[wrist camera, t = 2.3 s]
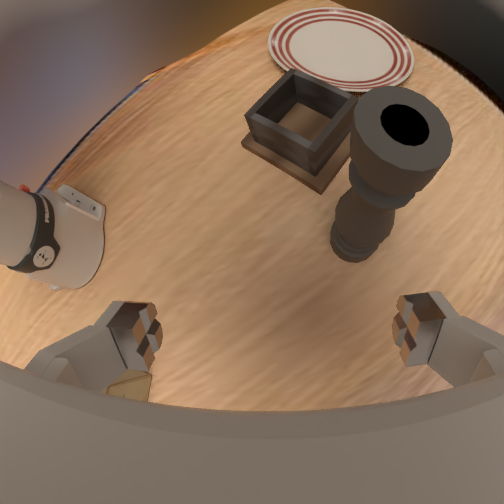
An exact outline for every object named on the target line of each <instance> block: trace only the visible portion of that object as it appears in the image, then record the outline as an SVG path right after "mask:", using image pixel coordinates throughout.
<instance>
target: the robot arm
mask: <svg viewBox="0 0 504 504" xmlns="http://www.w3.org/2000/svg"><path fill="white" fill-rule="evenodd" d="M95 208H96V209H95ZM104 217H105V207H104V206H103V205H102V204H100V203H98V202H96V201H95V200H93V199H91V198H89V197H88V196H86V195H84V194H83V193H81V192H79V191H77V190H76V189H74V188H72V187H71V186H69V185H66V184H64V185H62V186H61V187H60V188H58V189H57V190H56V191H54V190H52V189H50V188H45V189H43V190H42V191H41V192H40V193H39V194H38V193H31V192H30V189H29V188H28V187H27V186H25V185H21V186H20V189H17V188H15V187H13V186H11V185H9V184H7V183H4V182H3V181H1V180H0V264H2V265H6V266H7V267H8V268H9V269H12V270H14V271H16V272H21V273H22V272H23V273H26V275H27V277H28V278H30V279H33V280H37V281H40V282H43V283H46V284H49V286H50V288H51V289H52V290H55V291H58V290H60V289H62V288H69V289H77V288H80V287H82V286H84V285H85V284H86V283H88V282H89V281H90V279H91V278H92V277H93V275H94V274H95V272H96V270H97V268H98V266H99V264H100V261H101V258H102V254H103V248H104V233H103V221H104ZM396 307H397V309H398V311H399V312H398V314H397V315H396V316H395V317H394V319H393V324H392V334H393V339H394V342H395V344H396V345H397V346H399V347H401V350H400V355H401V358H402V360H403V362H404V365H405V367H409V366H416V365H423V364H428V366H430V367H431V368H432V369H433V370H434V371H436V372H437V373H438V374H439V375H441V376H442V377H443V378H444V379H445V380H447V381H448V382H449V383H450V384H451V385H453V386H454V388H451V389H447V390H443V391H439V392H435V393H431V394H426V395H422V396H417V397H412V398H407V399H402V400H396V401H390V402H384V403H378V404H371V405H363V406H355V407H345V408H335V409H322V410H305V411H231V410H214V409H201V408H191V407H181V406H173V405H166V404H158V403H152V402H146V401H140V400H134V399H129V398H123V397H118V396H114V395H109V394H104V393H100V392H101V391H102V390H103V389H104V388H106V387H107V386H108V385H109V384H111V383H112V382H113V381H114V380H116V379H117V378H118V377H119V376H121V375H122V374H123V373H124V372H126V371H127V369H129V370H139V371H149V370H150V368H151V366H152V363H153V361H154V359H155V357H154V354H153V353H155V352H156V351H158V350H159V349H160V347H161V344H162V339H163V332H162V327H161V324H160V323H159V322H158V321H157V320H156V319H155V317H156V315H157V310H156V307H155V305H154V304H153V303H152V302H134V301H113V302H112V303H111V304H110V306H109V307H108V308H107V309H106V310H105V312H104V313H103V314H102V315H101V317H100V318H99V319H98V320H97V321H96V323H95V324H94V325H93V326H91V325H89V326H87V327H85V328H83V329H81V330H79V331H77V332H75V333H74V334H72V335H70V336H68V337H66V338H64V339H62V340H60V341H58V342H56V343H54V344H52V345H50V346H48V347H46V348H44V349H42V350H40V351H39V352H38V353H37V354H36V355H35V356H34V358H33V359H32V360H31V361H30V363H29V364H28V365H27V366H26V367H25V369H24V370H23V369H20V368H18V367H15V366H12V365H10V364H7V363H5V362H2V361H0V504H504V336H503V335H501V334H499V333H497V332H495V331H493V330H491V329H489V328H487V327H485V326H483V325H481V324H479V323H477V322H475V321H473V320H471V319H469V318H467V317H465V316H459V315H458V313H457V312H456V311H455V309H454V308H453V307H452V306H451V304H450V303H449V302H448V301H447V299H446V298H445V297H444V296H443V294H442V293H441V292H439V291H433V292H426V293H419V294H411V295H402V296H399V298H398V300H397V305H396Z"/></svg>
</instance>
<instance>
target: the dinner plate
mask: <svg viewBox="0 0 504 504" xmlns="http://www.w3.org/2000/svg"><path fill="white" fill-rule="evenodd" d="M268 48H269V52H270V54H271V56H272V57H273V59H274V60H275V61H276V62H277V63H278V64H279V65H280V66H281V67H282V68H283V69H285V70H286V71H288V70H290V69H291V68H293V69H296V70H298V71H301V72H303V73H306V74H308V75H311V76H313V77H315V78H318V79H320V80H322V81H324V82H327V83H329V84H331V85H333V86H335V87H337V88H340V89H342V90H344V91H352V92H368V91H369V90H371V89H372V88H377V87H383V86H388V85H389V86H396V85H398V84H400V83H402V82H403V81H404V80H405V79H407V78H408V76H409V75H410V74H411V72H412V70H413V67H414V55H413V52H412V49H411V47H410V45H409V44H408V42H407V41H406V40H405V38H404V37H403V36H402V35H401V34H400V33H399V32H398V31H396V30H395V29H394V28H393V27H391V26H390V25H389V24H387V23H385V22H384V21H382V20H380V19H378V18H376V17H373V16H371V15H368V14H365V13H362V12H359V11H355V10H351V9H345V8H335V7H322V8H312V9H306V10H302V11H299V12H296V13H293V14H291V15H289V16H287V17H285V18H283V19H282V20H281V21H279V22H278V23H277V24H276V25H275V26H274V27H273V29H272V30H271V32H270V34H269V37H268Z"/></svg>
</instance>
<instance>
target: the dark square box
mask: <svg viewBox="0 0 504 504" xmlns="http://www.w3.org/2000/svg"><path fill="white" fill-rule="evenodd" d="M358 100H359V98H358V97H356V96H354V95H352V94H350V93H348V92H346V91H344V90H342V89H340V88H337V87H335V86H333V85H331V84H329V83H327V82H324V81H322V80H320V79H318V78H315V77H313V76H311V75H308V74H306V73H303V72H301V71H298V70H296V69H293V68H291V69H290V70H288V71H287V72H286V73H285V74H284V75H283V76H282V77H281V78H280V79H279V80H278V81H277V82H276V83H275V84H274V85H273V86H272V87H271V88H270V89H269V90H268V91H267V92H266V93H265V94H264V95H263V96H262V97H261V98H260V99H259V100H258V101H257V102H256V103H255V104H254V105H253V106H252V107H251V108H250V109H249V110H248V112H247V113H246V114H245V115H244V116H245V118H246V121H247V123H248V126H249V128H250V132H249V133H248V134H247V135H246V137H245V138H244V139H243V140H242V141H241V144H242V146H243V147H244V148H245V149H247V150H249V151H251V152H252V153H254V154H256V155H257V156H259V157H261V158H263V159H264V160H266V161H268V162H269V163H271V164H273V165H274V166H276V167H278V168H279V169H281V170H283V171H284V172H286V173H287V174H289V175H291V176H292V177H294V178H295V179H297V180H299V181H300V182H302V183H303V184H305V185H306V186H308V187H310V188H311V189H313V190H314V191H316V192H317V193H319V194H320V195H321V194H322V193H323V192H324V190H325V189H326V188H327V186H328V185H329V184H330V182H331V181H332V180H333V178H334V177H335V175H336V174H337V173H338V171H339V170H340V169H341V167H342V166H343V165H344V163H345V162H346V161H347V159H348V158H349V156H350V135H351V128H352V121H353V113H354V109H355V107H356V105H357V103H358Z"/></svg>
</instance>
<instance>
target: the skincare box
mask: <svg viewBox="0 0 504 504" xmlns="http://www.w3.org/2000/svg"><path fill="white" fill-rule="evenodd" d="M151 379H152V376H151V375H149V374H147V373H145V372H143V371H139V370H129V369H127V371H126V372H124V373H123V374H122V375H121V376H119V377H118V378H117V379H116V380H114V381H113V382H112V383H111V384H109V385H108V386H107V387H106V388H104V389H103V390H102V391H101V392H100V393H104V394H109V395H114V396H118V397H123V398H129V399H134V400H140V401H146V402H147V399H148V394H149V389H150V384H151Z"/></svg>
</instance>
